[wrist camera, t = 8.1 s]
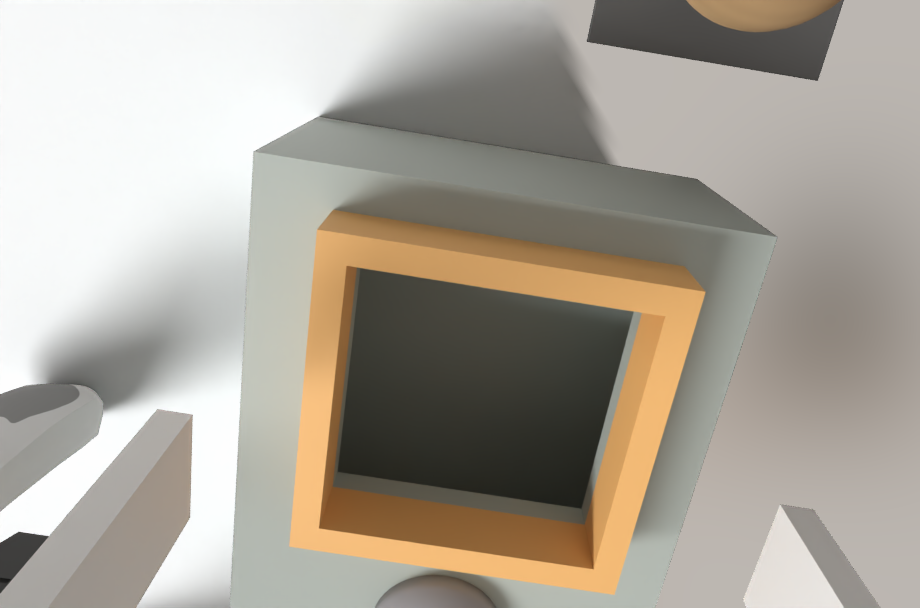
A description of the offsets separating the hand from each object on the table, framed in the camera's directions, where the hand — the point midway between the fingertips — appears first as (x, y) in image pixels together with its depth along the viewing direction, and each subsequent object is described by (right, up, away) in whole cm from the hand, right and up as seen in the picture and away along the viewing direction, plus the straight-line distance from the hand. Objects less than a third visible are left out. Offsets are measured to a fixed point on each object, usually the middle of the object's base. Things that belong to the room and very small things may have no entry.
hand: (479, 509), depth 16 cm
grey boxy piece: (0, 0, +14) cm, 14 cm away
